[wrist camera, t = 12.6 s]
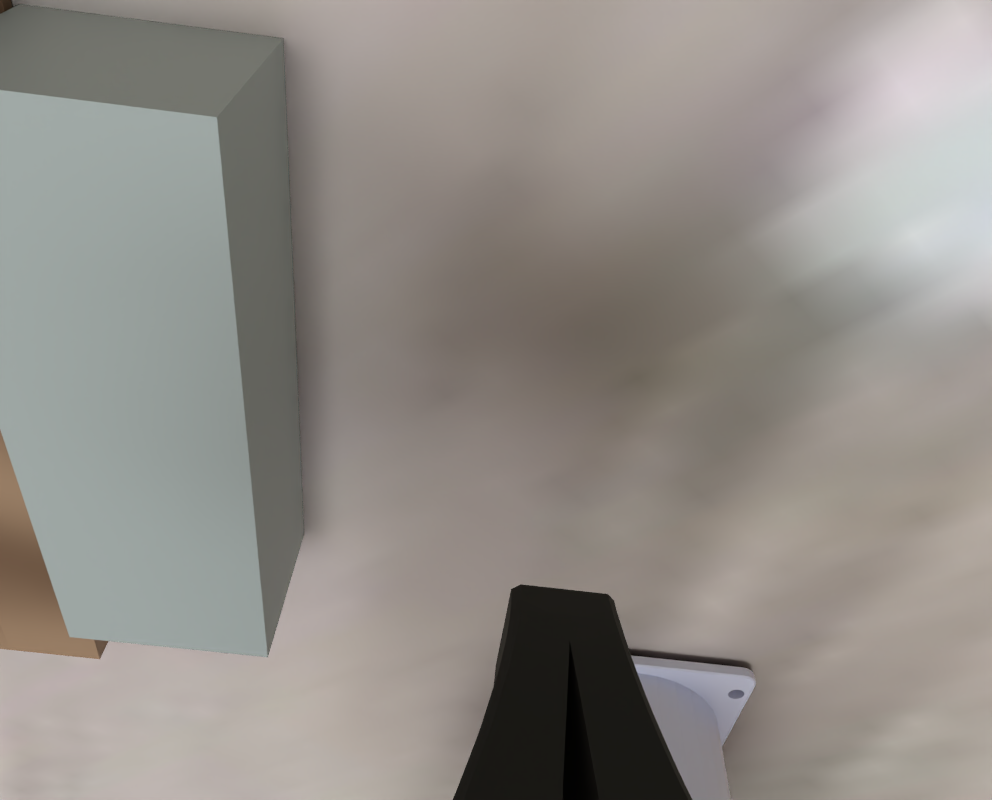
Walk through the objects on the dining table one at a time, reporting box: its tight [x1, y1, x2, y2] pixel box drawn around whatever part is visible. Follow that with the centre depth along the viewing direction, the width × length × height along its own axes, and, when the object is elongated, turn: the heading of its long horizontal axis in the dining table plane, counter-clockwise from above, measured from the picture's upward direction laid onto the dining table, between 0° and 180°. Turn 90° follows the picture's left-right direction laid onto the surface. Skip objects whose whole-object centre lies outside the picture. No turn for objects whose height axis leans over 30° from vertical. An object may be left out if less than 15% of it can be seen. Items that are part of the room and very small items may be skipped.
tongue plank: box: [0, 4, 304, 657], centre depth 19 cm, size 14×6×4 cm, turn 173°
